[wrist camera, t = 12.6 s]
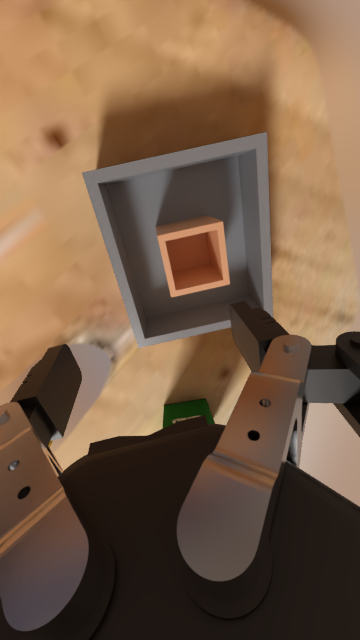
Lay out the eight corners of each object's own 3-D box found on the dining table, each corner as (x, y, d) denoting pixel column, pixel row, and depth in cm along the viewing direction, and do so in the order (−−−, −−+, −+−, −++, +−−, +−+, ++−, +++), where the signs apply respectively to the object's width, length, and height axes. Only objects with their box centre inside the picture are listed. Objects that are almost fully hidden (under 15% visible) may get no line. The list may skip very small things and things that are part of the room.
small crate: (155, 226, 29) (157, 236, 23) (207, 215, 29) (222, 221, 23) (166, 276, 32) (171, 297, 26) (214, 266, 32) (229, 284, 26)
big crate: (95, 176, 27) (82, 172, 22) (243, 143, 27) (266, 131, 22) (140, 324, 35) (138, 348, 30) (254, 298, 35) (273, 317, 30)
